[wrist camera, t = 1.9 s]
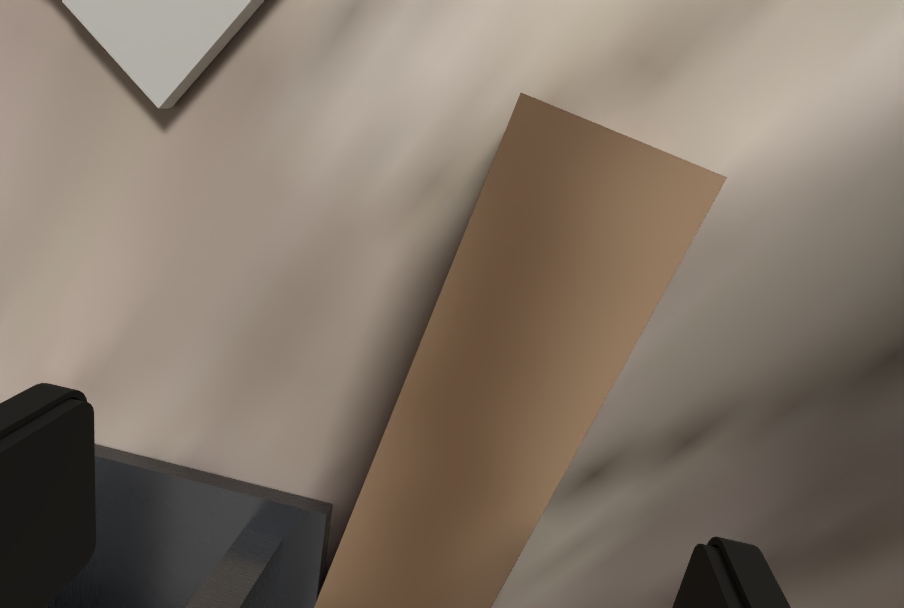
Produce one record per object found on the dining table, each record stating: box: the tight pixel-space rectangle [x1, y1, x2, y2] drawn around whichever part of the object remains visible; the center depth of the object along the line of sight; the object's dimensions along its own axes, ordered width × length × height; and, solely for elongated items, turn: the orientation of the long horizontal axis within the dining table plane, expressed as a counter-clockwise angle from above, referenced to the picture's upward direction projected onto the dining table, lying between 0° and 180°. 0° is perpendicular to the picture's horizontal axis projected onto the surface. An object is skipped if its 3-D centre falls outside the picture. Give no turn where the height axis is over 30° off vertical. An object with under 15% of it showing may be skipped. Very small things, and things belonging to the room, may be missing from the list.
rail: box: [314, 93, 727, 608], centre depth 17 cm, size 4×20×6 cm, turn 159°
